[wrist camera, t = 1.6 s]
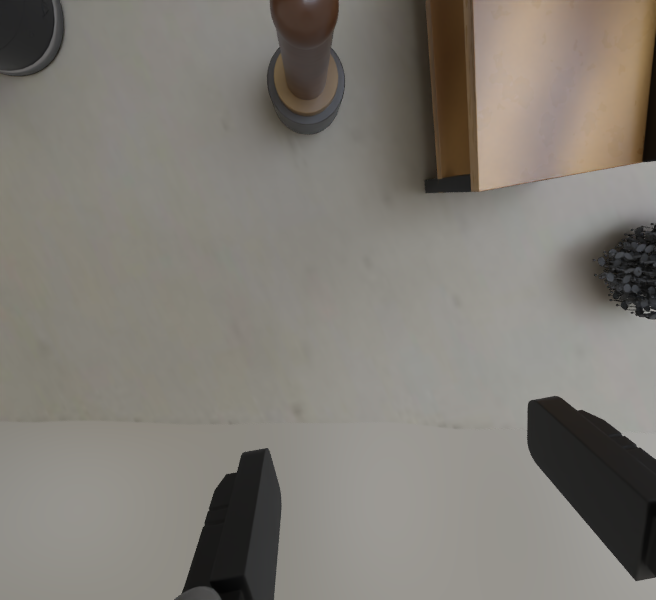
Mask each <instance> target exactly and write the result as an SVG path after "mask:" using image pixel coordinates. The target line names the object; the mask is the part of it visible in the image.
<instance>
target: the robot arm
mask: <svg viewBox="0 0 656 600" xmlns="http://www.w3.org/2000/svg"><path fill="white" fill-rule="evenodd" d="M62 36H63V14H62V8H61V4H60V0H0V73H2V74H6V75H13V76H23V75H29V74H33V73H35V72H38V71H40V70H42V69H43V68H44V67H46V66H47V65H48V64H49V63H50V62H51V61H52V60H53V58H54V57H55V55H56V54H57V52H58V50H59V47H60V44H61V41H62ZM527 432H528V433H527V434H528V435H527V436H528V437H527V440H528V448H529V451H530V453H531V456H532V458H533V459H534V461H535V462H536V464H537V465H538V466H539V467H540V469H541V470H542V471H543V472H544V473H545V475H546V476H547V477H548V478H549V479H550V480H551V481H552V483H553V484H554V485H555V486H556V487H557V489H558V490H559V491H560V492H561V493H562V494H563V496H564V497H565V498H566V499H567V500H568V501H569V503H570V504H571V505H572V506H573V507H574V509H575V510H576V511H577V512H578V513H579V515H580V516H581V517H582V518H583V519H584V521H585V522H586V523H587V524H588V525H589V526H590V528H591V529H592V530H593V531H594V532H595V533H596V535H597V536H598V537H599V538H600V539H601V540H602V542H603V543H604V544H605V545H606V546H607V548H608V549H609V550H610V551H611V552H612V553H613V555H614V556H615V557H616V558H617V559H618V561H619V562H620V563H621V564H622V565H623V566H624V568H625V569H626V570H627V571H628V572H629V574H630V575H631V576H632V577H633V578H634V579H635V581H639V580H644V579H649V578H655V577H656V459H654V458H653V457H652V456H650V455H649V454H648V453H646V452H645V451H644V450H642V449H641V448H638V447H637V446H636V444H635V443H633V442H632V441H631V440H629V439H628V438H627V437H625V436H622V435H621V433H620V432H619V431H618V430H616V429H615V428H614V427H612V426H611V425H610V424H608V423H607V422H606V421H604V420H603V419H601V418H598V417H596V416H594V415H592V414H590V413H587V412H585V411H583V410H579V411H577V410H576V409H574V408H573V407H572V406H571V405H569V404H568V403H567V402H566V401H564V400H563V399H562V398H560V397H558V396H553V397H547V398H542V399H536V400H531V401H530V402H529V403H528V430H527ZM280 519H281V493H280V487H279V483H278V480H277V476H276V472H275V469H274V465H273V462H272V458H271V454H270V451H269V449H268V448H265V449H259V450H254V451H249V452H244V453H242V455H241V459H240V463H239V467H238V471H237V473H231V474H226V476H225V477H224V478H223V480H222V481H221V482H220V484H219V485H218V487H217V488H216V489H215V491H214V494H213V497H212V501H211V504H210V507H209V511H208V513H207V517H206V520H205V526H204V527H203V529H202V532H201V535H200V539H199V542H198V545H197V548H196V551H195V555H194V558H193V561H192V564H191V567H190V571H189V574H188V577H187V580H186V583H185V586H184V589H183V591H182V594H181V595H179V596H178V597H177V598H176V599H174V600H274V591H275V578H276V566H277V555H278V543H279V531H280Z"/></svg>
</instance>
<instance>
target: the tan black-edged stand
mask: <svg viewBox="0 0 656 600" xmlns="http://www.w3.org/2000/svg"><path fill="white" fill-rule="evenodd" d="M425 3H426V17H427V32H428V46H429V61H430V75H431V90H432V104H433V119H434V133H435V148H436V162H437V177H438V178H435V179H429V180H425V191H426V193H446V192H481V191H486V190H492V189H497V188H503V187H508V186H514V185H519V184H525V183H530V182H536V181H542V180H547V179H553V178H558V177H564V176H569V175H575V174H580V173H586V172H591V171H597V170H602V169H608V168H614V167H619V166H625V165H630V164H636V163H641V162H651V161H656V0H425Z"/></svg>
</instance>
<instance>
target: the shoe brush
mask: <svg viewBox="0 0 656 600" xmlns="http://www.w3.org/2000/svg"><path fill="white" fill-rule="evenodd" d="M270 11H271V16H272V20H273V22H274V25H275V27H276V31H277V36H278V41H279V46H280V47H279V48H278V49H277V51H276V52H275V54H274V55H273V57H272V59H271V61H270V64H269V68H268V74H267V84H268V90H269V94H270V97H271V99H272V102H273V105H274V107H275V110H276V112H277V114H278V116H279V118H280V119H281V121H282V122H283V123H284V124H285V125H286V126H287V127H288V128H290V129H291V130H293V131H295V132H297V133H301V134H314V133H318V132H320V131H322V130H324V129H325V128H326V127H328V126H329V125H330V124H331V123H332V121H333V120H334V118H335V116H336V114H337V112H338V109H339V106H340V103H341V100H342V97H343V94H344V88H345V76H344V70H343V67H342V64H341V61H340V59H339V57H338V56H337V54H336V53H335V51H334V50H333V49H332V48H331V45H332V39H333V32H334V28H335V25H336V22H337V19H338V13H339V0H270Z"/></svg>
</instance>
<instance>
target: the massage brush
mask: <svg viewBox="0 0 656 600" xmlns="http://www.w3.org/2000/svg"><path fill="white" fill-rule="evenodd" d="M651 225H654V228H652V229H653V230H652V231H643V227H644V226H641V227H639V228H637V229H635V234H637V235H635V234H633V235H630V234H629V235H627V234H624V235H627V236H636V239H634V238H633V237H629V238H625V239H626V240H628V241H627V242H623V243H624V244H623V243H621V242H619V245H618V246H619V248H621V247H622V246H623V248H624V249H621V250H620V252H618V251H615V250H614V249H611V250H610V251H609V255H608V256H610V257H609V258H612V259H611V261H610V262H609V259H607V261H605V259H604V258H603V257H600V258H598V263H599V264H601V265H600V266H602V265H603V264H606V263H605V262H609V263H607V264H608V265H609V266H605V268H606V267H609V270H608V273H606V272H605V273H602V274H600V275H601V276H600V275H599V279H604V278H607V280H608V281H609V282H608V284H609V286H607V288H609V287H611V289H609V290H615V291H614V292H615V293H614V294H613V298H614V299H618V298H619V297H620V296H621V297H620V298H619V300H621V301H620V302H622V303H621V307H622V308H623V309H624V310H627V308H628V307H629V306H628V305H627V304H631V303H633V304H634V305H636V308H637V309H636V311H635V312H636V314H635V313H634V312H631V314H633V313H634V314H635V315H636V316H639V317H646V318H648V319H656V312H654V311H650V308H651V309H654V310H656V288H655V287H656V246H655V247H654V245H656V225H655V224H653V223H651ZM646 227H647V226H646ZM647 228H650V227H647ZM631 231H633V229H631ZM641 232H645V236H644V233H641ZM642 236H643V237H642ZM643 238H647V239H643ZM625 239H622V241H624V240H625ZM637 242H640V243H641V244H638V243H637ZM647 242H649V243H647ZM620 244H623V245H620ZM647 244H648V245H647ZM646 246H647V247H646ZM615 248H617V246H615ZM626 250H630V252H628V253H627V252H626ZM641 252H642V253H641ZM649 252H650V253H652V254H650V255H648V253H649ZM604 253H608V252H606V251H604ZM604 256H605V257H606V256H607V255H604ZM634 260H635V261H634ZM593 261H596V260H595V259H593ZM629 263H630V264H631V263H632V264H631V265H630V264H629ZM645 265H648V266H646V267H645ZM637 266H638V267H637ZM615 268H616V269H615ZM604 271H607V270H606V269H605V270H604ZM614 272H616V273H617V275H616V276H614V274H612V273H614ZM622 272H623V273H622ZM629 273H630V274H629ZM643 273H644V274H643ZM595 276H597V274H595ZM650 276H651V277H653V278H651V277H650ZM607 280H604V281H605V284H607V282H606V281H607ZM617 280H618V281H617ZM632 281H633V282H632ZM635 282H636V283H635ZM616 291H617V292H616ZM620 292H621V293H620ZM610 293H613V292H612V291H611V292H610ZM636 293H637V294H636ZM619 294H620V295H619ZM642 294H643V295H642ZM640 295H642V296H640ZM608 296H610V294H608ZM611 296H612V295H611ZM644 296H645V297H644ZM627 298H628V299H627ZM619 300H613V301H619ZM610 301H612V299H610ZM616 306H620V305H618V304H616ZM649 306H651V307H649ZM630 307H634V306H630ZM643 308H644V310H646V312H651V313H648V314H643V313H644V311H643Z"/></svg>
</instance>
